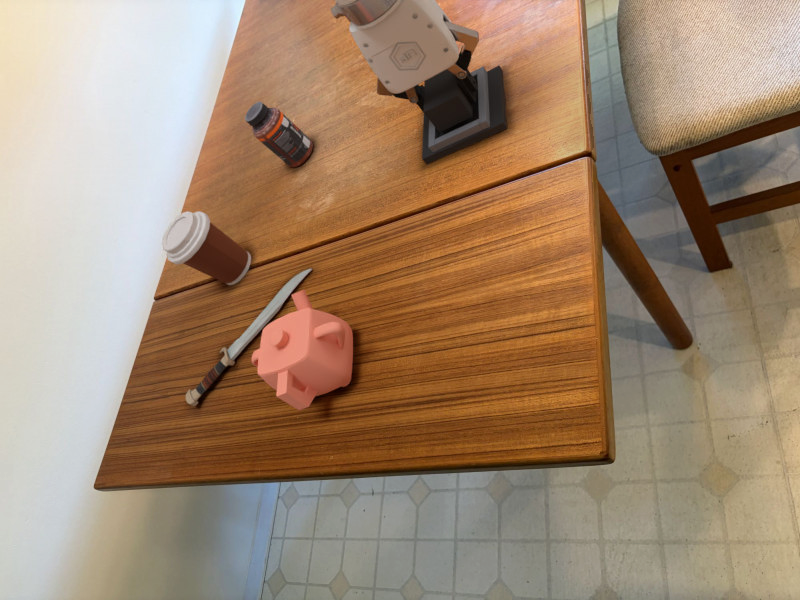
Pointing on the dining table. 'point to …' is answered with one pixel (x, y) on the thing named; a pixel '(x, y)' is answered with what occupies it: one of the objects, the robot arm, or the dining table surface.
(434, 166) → the dining table surface
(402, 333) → the dining table surface
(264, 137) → the supplement bottle
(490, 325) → the dining table surface
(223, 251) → the coffee cup
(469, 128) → the base pad
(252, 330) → the knife
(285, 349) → the teapot
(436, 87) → the black block
